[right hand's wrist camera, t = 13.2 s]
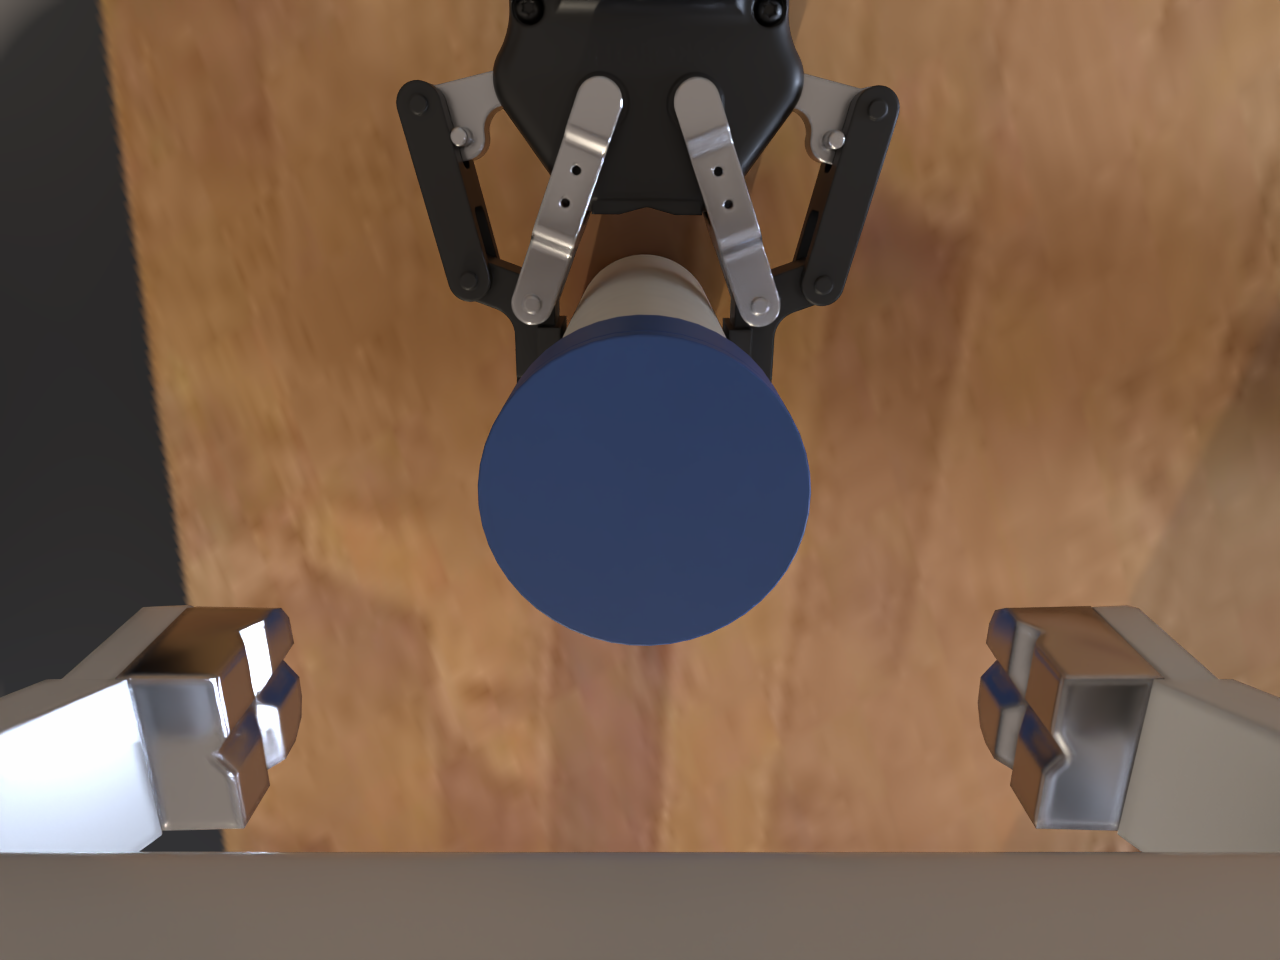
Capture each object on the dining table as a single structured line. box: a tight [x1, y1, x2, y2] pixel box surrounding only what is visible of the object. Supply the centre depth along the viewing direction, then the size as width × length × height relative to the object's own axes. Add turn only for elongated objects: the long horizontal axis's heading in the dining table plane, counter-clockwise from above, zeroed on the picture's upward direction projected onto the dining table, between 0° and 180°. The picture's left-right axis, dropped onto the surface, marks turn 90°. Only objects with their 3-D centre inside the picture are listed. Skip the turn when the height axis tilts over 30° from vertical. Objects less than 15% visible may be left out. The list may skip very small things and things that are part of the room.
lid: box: [478, 315, 811, 646], centre depth 16 cm, size 6×6×2 cm
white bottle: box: [563, 254, 726, 338], centre depth 24 cm, size 5×5×18 cm
